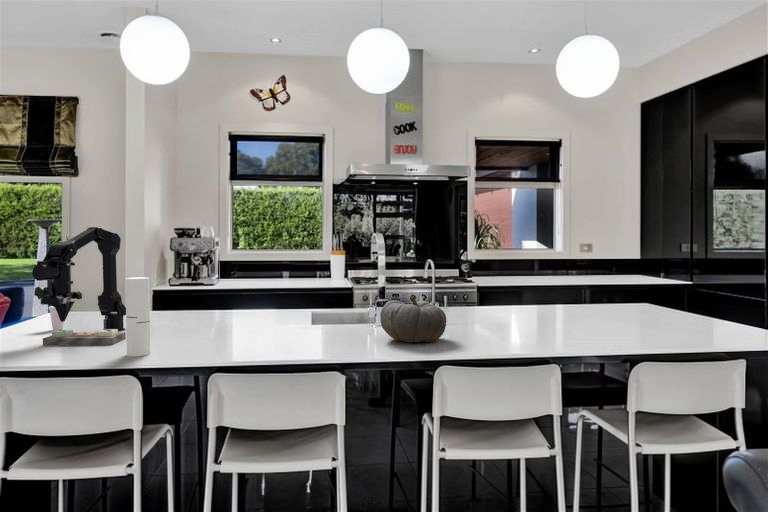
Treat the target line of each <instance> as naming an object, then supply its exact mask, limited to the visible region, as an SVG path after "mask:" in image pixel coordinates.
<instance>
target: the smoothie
mask: <svg viewBox="0 0 768 512" xmlns="http://www.w3.org/2000/svg"><path fill="white" fill-rule="evenodd" d="M48 311H49V315H50V321H51V327H52V328H51V329H52V332H54V331H57V330H61V329H62V330H64V327H65V326H64V325H65V324H64V323H65V321H64V322H61V321H60V318H59V316H58V313H57V311H56V309H55V307H53V306H52V305H50V306H48Z"/></svg>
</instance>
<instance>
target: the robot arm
mask: <svg viewBox="0 0 768 512" xmlns="http://www.w3.org/2000/svg"><path fill="white" fill-rule="evenodd" d="M121 241H122V239H121V236H120V235H119V234H118V233H116V232H112V231H109V230H107V229H106V230H105V229H103V228H102V227H99V226H90V227H87V228H86V230H84V231H82V232H80V233H79V234H77V235H76V236H73V237H72V238H70V239H68V240H65V241H60V242H57V243H53V244H51V245H50V246H49V249H48V250H47V253H46V255H45V256H44V258H43V260H37V261H36V265H34V266H33V268H32V270H31V275H32V277H33V279H34V280H36V281H39V282H40V281H49V280H52V281H50V282H49V286H46V287H43V286H42V285H41V286H40V285H39V286H37V287H35V288H34V291H33V292H34V293H33V295H34V296H36V297H37V299H38V300H40V305H41V306H43V305H50V306H53V307H55V309H56V311H57V313H58V316H59V318H60V321H61V322H64V323H65V321H66V319H67V317H68V315H69V313H70V311H71V309H72V307H73V305H74V304H75V302H76V301H75V300H74V299H76V300H82V299H83V293H82V292H81V291H80V290H79V291H72V284H74V280H71V279H72V277H71V276H72V274H71V271H72V270H71V267H72V266H76V263H75V262H73V261H72V258H74V257H75V256H76V255H77V253H78V251H79V250H80V249H81V248H83V247H85V246H86V245H88V244H90V243H92V242H94V243H95V244H97V249H98V251H99V253H100V254H101V255H102V288H103V289H102V290H103V291H102V292H101V294H100V295H99V294H98V295H97V306H98V308H99V309H98V310H99V312H100V316H102V317H103V316H104V319H103V329H118V332H120V331H124V330H125V331H126V327H125V328H124V316H126V305H124V303H123V300H122V296H121V294H120V293H119V291H118V288H117V287H118V285H117V284H118V283H117V282H118V280H117V278H118V277H117V276H118V275H117V254H118V252H119V251H120V249H121Z"/></svg>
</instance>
